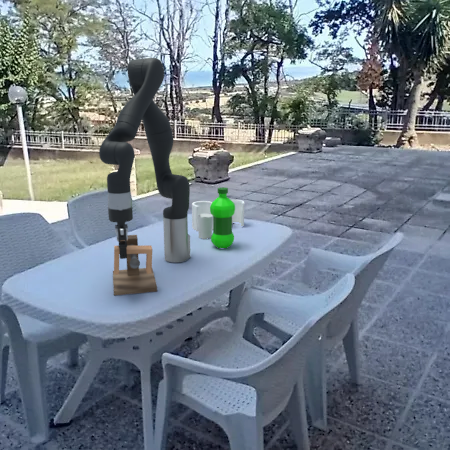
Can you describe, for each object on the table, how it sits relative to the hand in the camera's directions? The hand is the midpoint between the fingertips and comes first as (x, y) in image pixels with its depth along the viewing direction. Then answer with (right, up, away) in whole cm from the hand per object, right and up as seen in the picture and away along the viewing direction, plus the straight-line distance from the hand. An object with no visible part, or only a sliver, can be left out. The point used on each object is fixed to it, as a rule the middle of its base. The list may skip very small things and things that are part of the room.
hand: (123, 253), depth 155 cm
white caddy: (+30, +8, +73) cm, 79 cm away
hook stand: (+3, -11, +6) cm, 13 cm away
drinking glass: (+24, +4, +58) cm, 63 cm away
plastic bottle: (+32, 0, +45) cm, 55 cm away
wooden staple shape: (+3, -6, +3) cm, 7 cm away
